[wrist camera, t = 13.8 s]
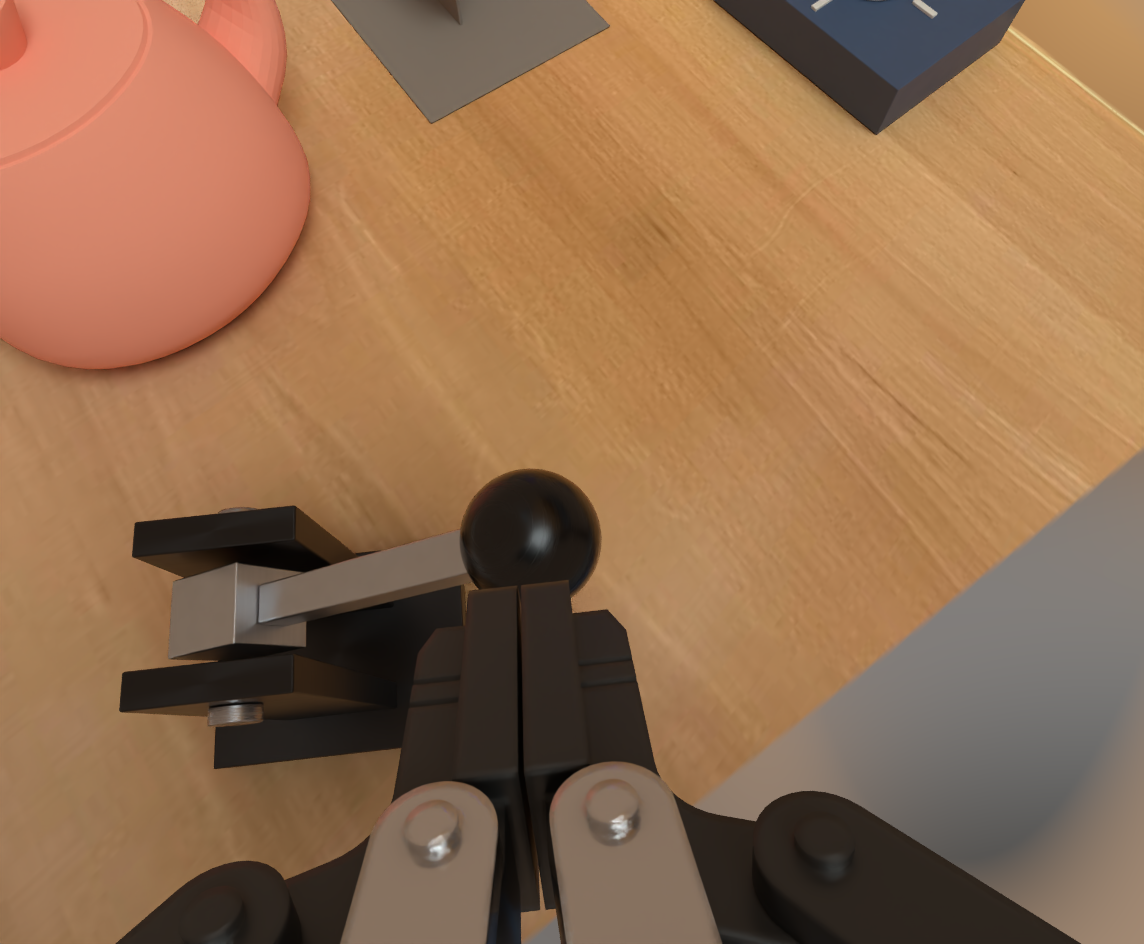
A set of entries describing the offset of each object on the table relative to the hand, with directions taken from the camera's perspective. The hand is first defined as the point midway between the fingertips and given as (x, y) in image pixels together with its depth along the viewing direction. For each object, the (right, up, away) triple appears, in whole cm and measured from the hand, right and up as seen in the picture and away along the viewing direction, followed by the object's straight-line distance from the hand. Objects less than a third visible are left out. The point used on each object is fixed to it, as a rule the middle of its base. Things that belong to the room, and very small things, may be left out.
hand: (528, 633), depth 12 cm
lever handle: (-4, -1, +9) cm, 10 cm away
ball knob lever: (-9, -5, +21) cm, 23 cm away
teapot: (-20, +15, +28) cm, 38 cm away
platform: (-7, +31, +33) cm, 46 cm away
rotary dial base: (+17, +28, +32) cm, 46 cm away
